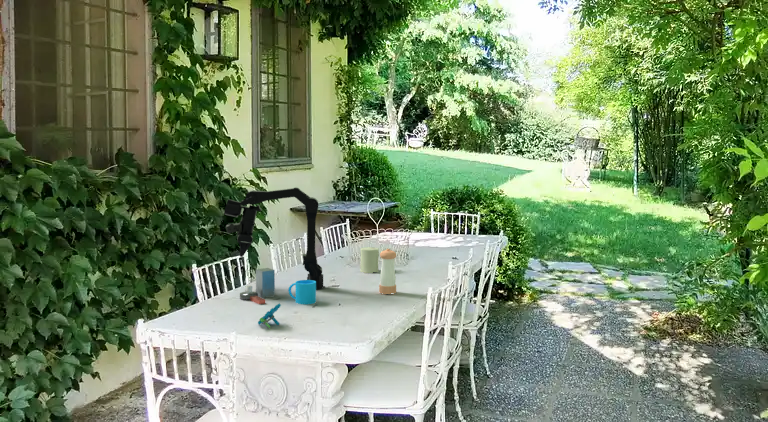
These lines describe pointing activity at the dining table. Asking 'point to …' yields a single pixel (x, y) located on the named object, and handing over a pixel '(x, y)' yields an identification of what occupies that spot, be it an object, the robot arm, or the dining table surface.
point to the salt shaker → (387, 272)
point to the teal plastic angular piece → (269, 316)
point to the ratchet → (251, 296)
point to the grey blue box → (265, 282)
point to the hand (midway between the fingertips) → (241, 254)
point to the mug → (304, 291)
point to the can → (369, 260)
